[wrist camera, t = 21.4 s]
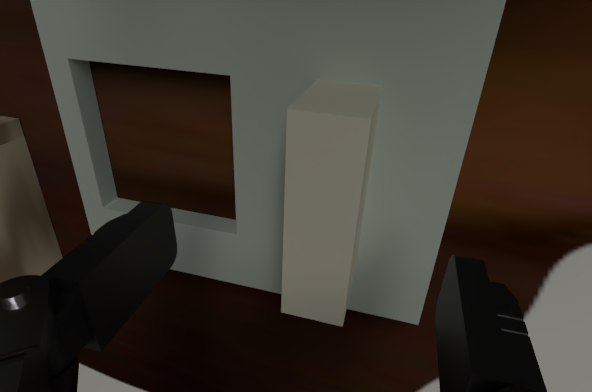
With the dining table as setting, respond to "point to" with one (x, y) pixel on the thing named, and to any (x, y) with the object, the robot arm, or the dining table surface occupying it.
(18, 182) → the wooden frame
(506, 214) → the dining table surface
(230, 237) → the lid
